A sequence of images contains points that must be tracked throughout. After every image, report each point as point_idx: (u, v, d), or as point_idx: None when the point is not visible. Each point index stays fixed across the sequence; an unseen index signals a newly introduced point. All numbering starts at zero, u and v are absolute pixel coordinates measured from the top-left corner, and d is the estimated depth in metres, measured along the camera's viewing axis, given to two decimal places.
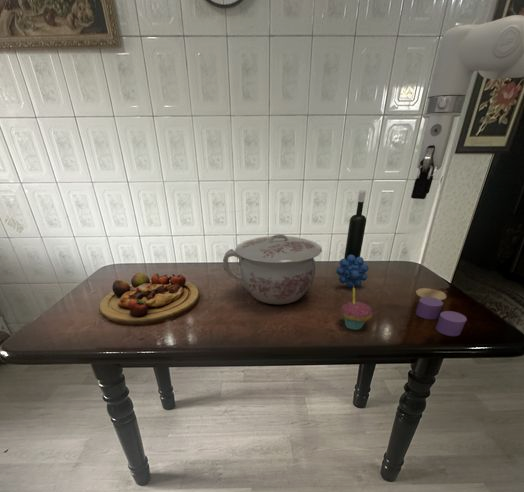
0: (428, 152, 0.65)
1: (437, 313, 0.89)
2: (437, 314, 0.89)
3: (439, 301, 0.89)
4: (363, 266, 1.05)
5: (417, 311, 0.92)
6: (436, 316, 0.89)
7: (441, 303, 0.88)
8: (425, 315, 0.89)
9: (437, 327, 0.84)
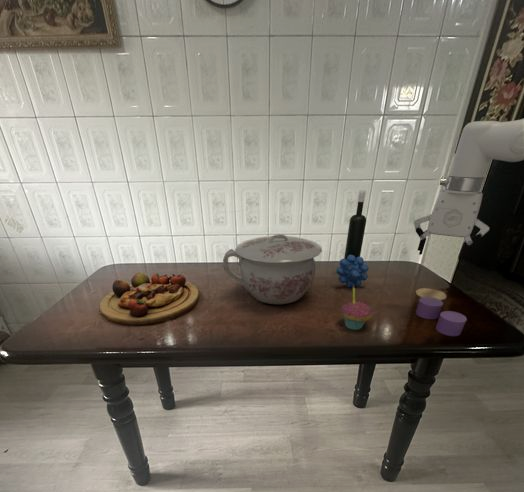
0: (423, 217, 0.80)
1: (437, 313, 0.89)
2: (437, 314, 0.89)
3: (439, 301, 0.89)
4: (363, 266, 1.05)
5: (417, 311, 0.92)
6: (436, 316, 0.89)
7: (441, 303, 0.88)
8: (425, 315, 0.89)
9: (437, 327, 0.84)
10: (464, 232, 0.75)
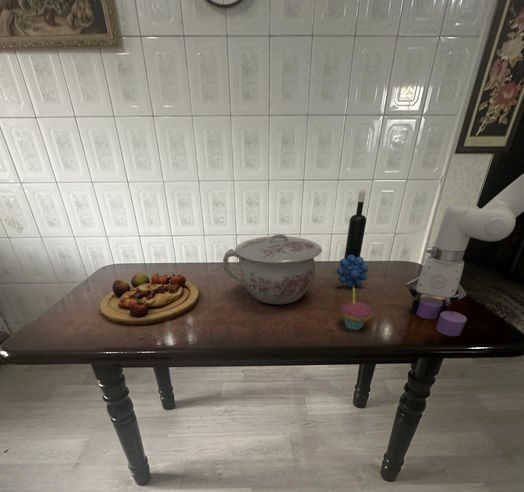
0: (413, 280, 0.89)
1: (437, 313, 0.89)
2: (437, 314, 0.89)
3: (439, 301, 0.89)
4: (363, 266, 1.05)
5: (417, 311, 0.92)
6: (436, 316, 0.89)
7: (441, 303, 0.88)
8: (425, 315, 0.89)
9: (437, 327, 0.84)
10: (449, 294, 0.84)
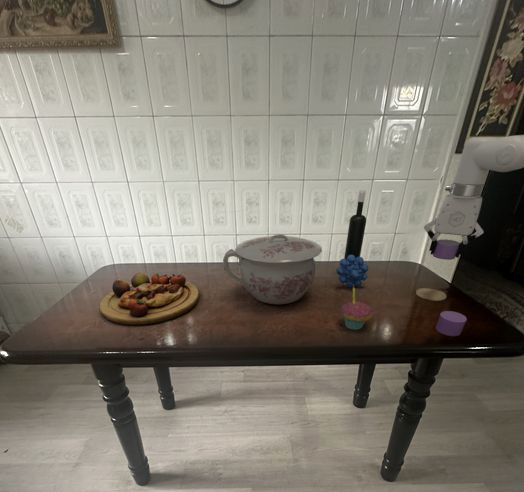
0: (431, 221, 0.92)
1: (454, 253, 0.91)
2: (454, 254, 0.91)
3: (456, 242, 0.92)
4: (363, 266, 1.05)
5: (434, 253, 0.94)
6: (453, 256, 0.92)
7: (458, 243, 0.91)
8: (442, 255, 0.92)
9: (437, 327, 0.84)
10: (466, 231, 0.86)
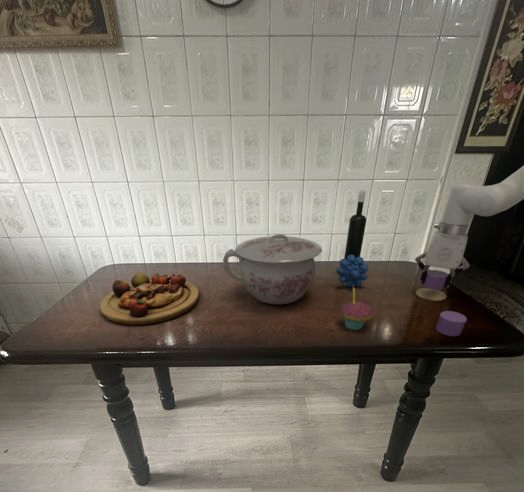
0: (421, 254, 0.99)
1: (443, 284, 0.98)
2: (443, 285, 0.99)
3: (445, 273, 0.99)
4: (363, 266, 1.05)
5: (425, 283, 1.01)
6: (442, 287, 0.99)
7: (446, 275, 0.98)
8: (432, 286, 0.99)
9: (437, 327, 0.84)
10: (453, 265, 0.94)
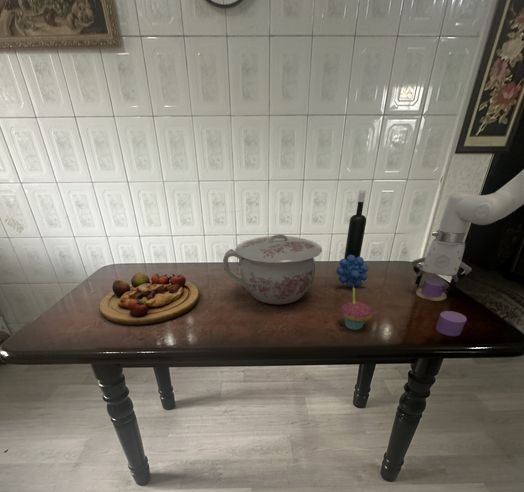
0: (419, 258, 1.00)
1: (440, 292, 1.00)
2: (440, 293, 1.00)
3: (442, 281, 1.01)
4: (363, 266, 1.05)
5: (422, 291, 1.03)
6: (439, 295, 1.00)
7: (444, 283, 1.00)
8: (429, 294, 1.01)
9: (437, 327, 0.84)
10: (451, 272, 0.95)
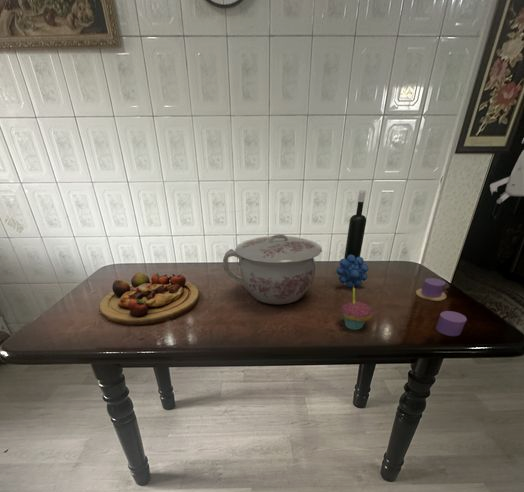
0: None
1: (440, 292, 1.00)
2: (440, 293, 1.00)
3: (442, 281, 1.01)
4: (363, 266, 1.05)
5: (422, 291, 1.03)
6: (439, 295, 1.00)
7: (444, 283, 1.00)
8: (429, 294, 1.01)
9: (437, 327, 0.84)
10: None
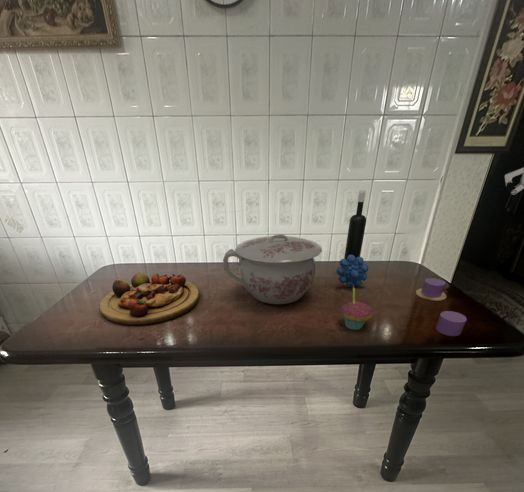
0: (516, 170, 0.75)
1: (440, 292, 1.00)
2: (440, 293, 1.00)
3: (442, 281, 1.01)
4: (363, 266, 1.05)
5: (422, 291, 1.03)
6: (439, 295, 1.00)
7: (444, 283, 1.00)
8: (429, 294, 1.01)
9: (437, 327, 0.84)
10: None
